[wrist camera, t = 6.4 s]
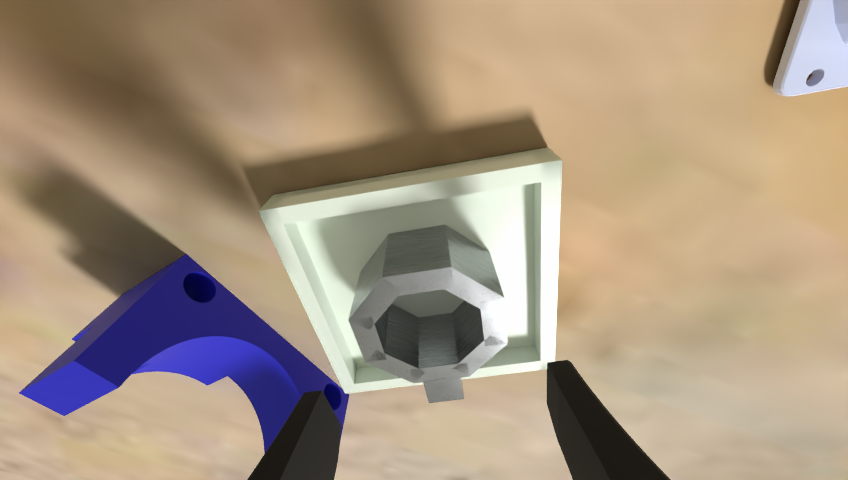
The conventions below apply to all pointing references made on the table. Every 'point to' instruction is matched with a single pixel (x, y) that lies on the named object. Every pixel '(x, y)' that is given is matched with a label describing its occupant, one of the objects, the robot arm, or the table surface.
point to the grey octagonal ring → (438, 334)
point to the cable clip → (185, 349)
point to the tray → (420, 208)
